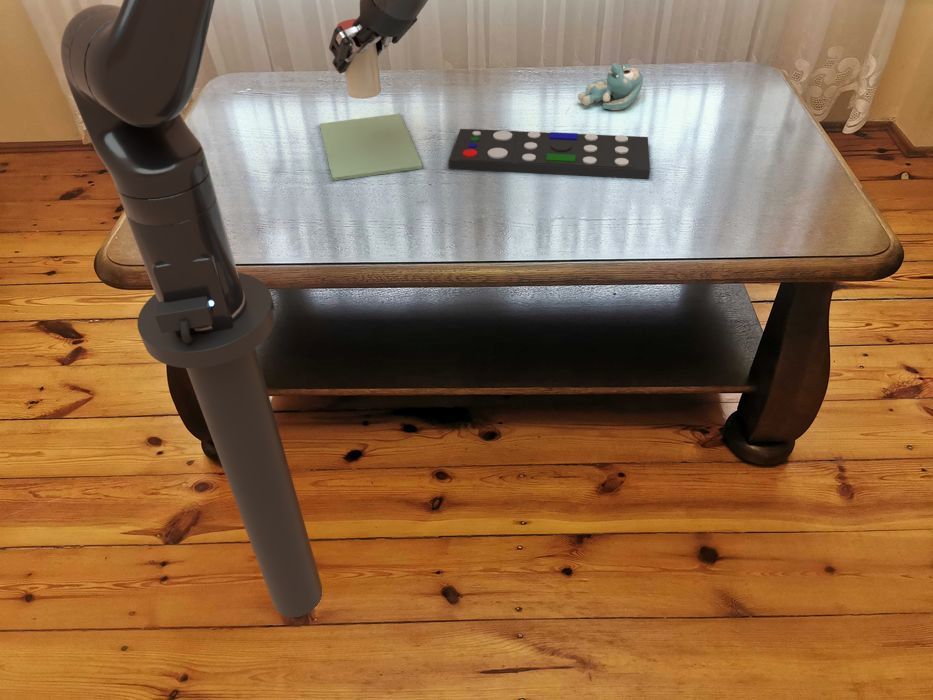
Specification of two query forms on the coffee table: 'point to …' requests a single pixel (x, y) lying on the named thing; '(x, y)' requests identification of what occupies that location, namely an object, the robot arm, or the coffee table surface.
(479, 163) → the remote control
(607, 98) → the stuffed animal
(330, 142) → the felt mat
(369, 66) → the beige jar
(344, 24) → the red lid
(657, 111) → the coffee table surface
